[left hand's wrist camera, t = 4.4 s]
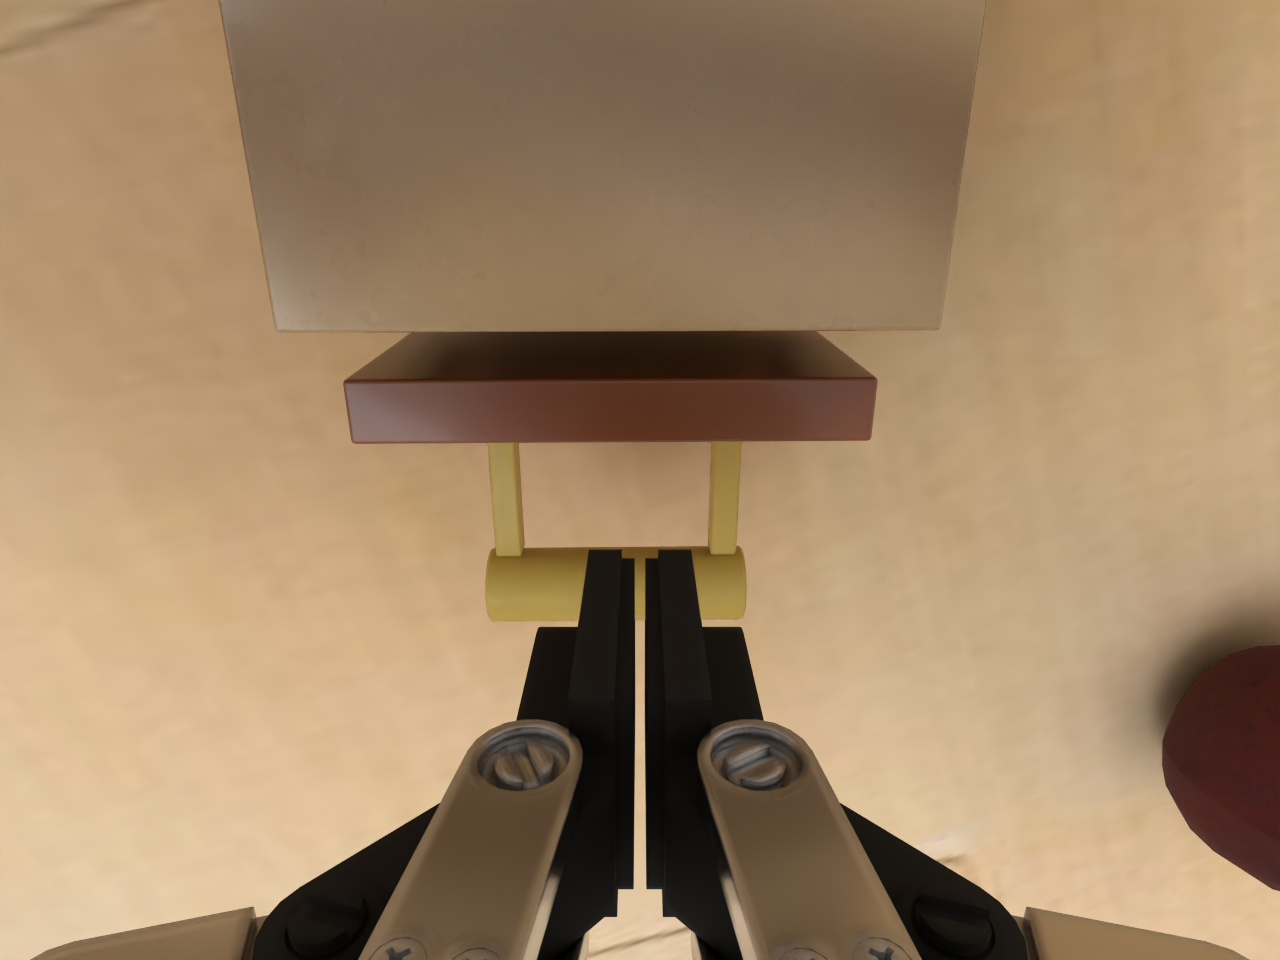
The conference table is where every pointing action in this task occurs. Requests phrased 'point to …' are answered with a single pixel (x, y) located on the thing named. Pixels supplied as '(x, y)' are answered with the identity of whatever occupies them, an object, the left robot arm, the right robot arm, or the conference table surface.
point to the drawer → (609, 428)
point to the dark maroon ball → (1231, 760)
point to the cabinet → (604, 161)
